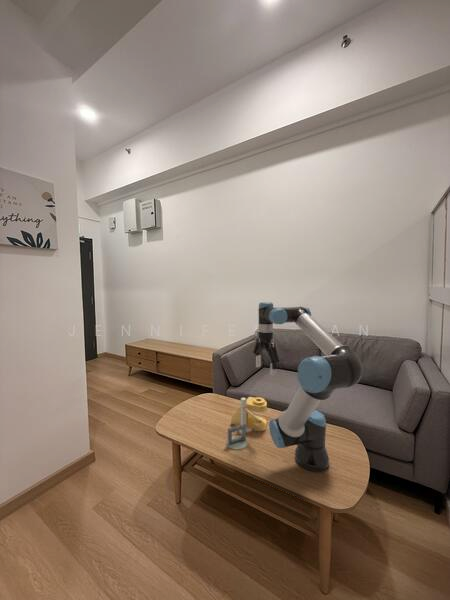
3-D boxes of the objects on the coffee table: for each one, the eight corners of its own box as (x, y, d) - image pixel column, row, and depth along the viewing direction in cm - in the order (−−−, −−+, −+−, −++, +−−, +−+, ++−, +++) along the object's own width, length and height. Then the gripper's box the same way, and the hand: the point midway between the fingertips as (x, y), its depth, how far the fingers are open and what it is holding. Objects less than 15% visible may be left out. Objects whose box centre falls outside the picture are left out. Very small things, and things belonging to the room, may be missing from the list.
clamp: (268, 424, 145) (268, 398, 144) (263, 433, 136) (263, 405, 135) (237, 416, 154) (237, 391, 153) (231, 423, 146) (231, 397, 145)
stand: (264, 444, 127) (264, 410, 126) (253, 447, 124) (253, 413, 123) (245, 424, 145) (245, 395, 144) (235, 427, 142) (235, 397, 141)
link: (245, 440, 130) (246, 425, 129) (229, 445, 126) (229, 430, 125) (244, 438, 131) (244, 424, 131) (227, 443, 127) (227, 428, 126)
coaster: (251, 446, 126) (251, 445, 126) (232, 452, 121) (232, 451, 121) (241, 434, 136) (241, 433, 136) (223, 439, 131) (223, 438, 131)
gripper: (286, 335, 120) (286, 377, 121) (258, 327, 142) (258, 362, 144) (274, 336, 117) (273, 380, 118) (247, 328, 139) (247, 364, 141)
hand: (265, 370), depth 131 cm, fingers open, 13 cm apart
